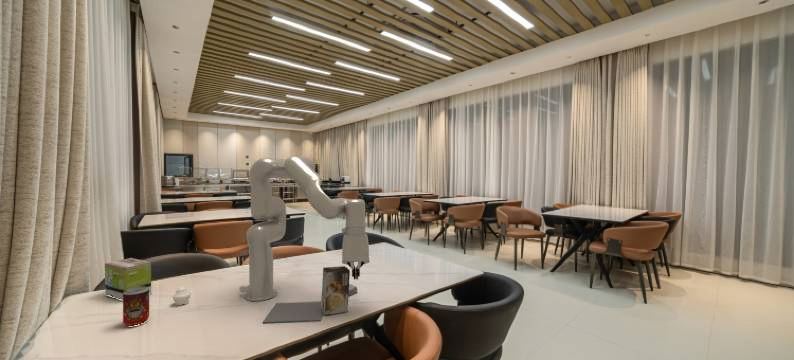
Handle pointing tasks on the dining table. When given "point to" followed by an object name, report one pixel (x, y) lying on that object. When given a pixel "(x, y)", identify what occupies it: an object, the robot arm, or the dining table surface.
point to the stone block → (352, 289)
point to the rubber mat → (294, 312)
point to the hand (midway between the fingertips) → (355, 278)
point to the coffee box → (335, 290)
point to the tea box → (126, 276)
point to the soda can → (135, 305)
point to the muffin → (181, 296)
